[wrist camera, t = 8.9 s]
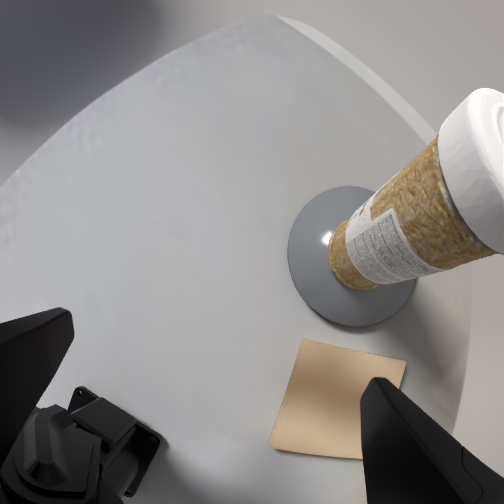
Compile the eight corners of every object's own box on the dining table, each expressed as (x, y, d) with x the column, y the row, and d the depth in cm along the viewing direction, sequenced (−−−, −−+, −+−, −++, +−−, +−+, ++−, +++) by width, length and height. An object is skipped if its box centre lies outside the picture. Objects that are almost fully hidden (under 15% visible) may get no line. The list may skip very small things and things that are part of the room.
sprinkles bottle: (365, 208, 18) (505, 75, 5) (401, 267, 18) (578, 197, 5) (310, 242, 18) (444, 95, 5) (349, 307, 17) (546, 277, 4)
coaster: (386, 346, 17) (391, 347, 17) (262, 288, 18) (263, 287, 17) (426, 227, 19) (430, 225, 18) (319, 167, 19) (321, 163, 19)
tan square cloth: (366, 453, 16) (372, 459, 15) (268, 441, 16) (270, 447, 15) (399, 359, 17) (406, 361, 16) (302, 338, 17) (306, 339, 16)
